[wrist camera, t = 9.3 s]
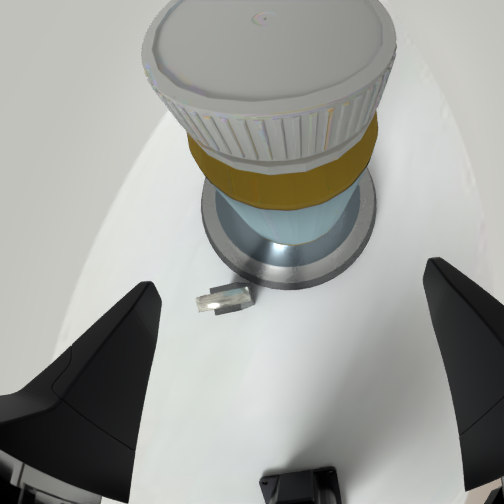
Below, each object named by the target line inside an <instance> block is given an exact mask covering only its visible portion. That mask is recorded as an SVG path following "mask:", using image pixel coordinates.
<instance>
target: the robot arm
mask: <svg viewBox="0 0 504 504" xmlns="http://www.w3.org/2000/svg"><path fill="white" fill-rule="evenodd" d="M423 285H424V289H425V293H426V298H427V302H428V306H429V311H430V315H431V320H432V324H433V328H434V331H435V334H436V338H437V341H438V344H439V348H440V351H441V355H442V358H443V362H444V366H445V370H446V374H447V378H448V382H449V386H450V391H451V395H452V400H453V405H454V410H455V415H456V420H457V426H458V432H459V440H460V447H461V454H462V463H463V473H464V486H465V492H466V491H469V490H472V489H474V488H477V487H480V486H482V485H485V484H487V483H490V482H492V481H494V480H497V479H499V478H501V481H502V486H500V487H498V488H496V489H494V490H492V491H491V493H490V495H489V496H488V498H487V500H486V501H485V503H484V504H504V305H503V304H501V303H500V302H499V301H498V300H497V299H495V298H494V297H493V296H492V295H490V294H489V293H488V292H487V291H485V290H484V289H483V288H481V287H480V286H479V285H478V284H476V283H475V282H474V281H472V280H471V279H470V278H468V277H467V276H466V275H464V274H463V273H462V272H460V271H459V270H457V269H456V268H455V267H453V266H452V265H451V264H449V263H448V262H446V261H445V260H444V259H442V258H441V257H433V258H429V259H428V261H427V264H426V268H425V272H424V276H423ZM161 306H162V301H161V297H160V295H159V293H158V291H157V289H156V287H155V285H154V283H153V282H151V281H143V282H140V283H139V284H137V285H136V286H135V287H134V288H133V289H132V290H131V291H130V292H128V293H127V294H126V295H125V296H124V297H123V298H122V299H121V300H119V301H118V302H117V303H116V304H115V305H114V306H113V307H112V308H111V309H110V310H108V311H107V312H106V313H105V314H104V315H103V316H102V317H101V318H100V319H99V320H97V321H96V322H95V323H94V324H93V325H92V326H91V327H90V328H89V329H88V330H87V331H86V332H85V333H84V334H82V335H81V336H80V337H79V338H78V339H77V340H76V341H75V342H74V343H73V344H72V346H70V347H69V348H68V349H67V350H66V351H65V352H64V353H62V354H61V355H60V356H59V357H58V358H57V359H56V360H55V361H54V362H53V363H52V364H50V365H49V366H48V367H47V368H46V369H45V370H44V371H42V372H41V373H40V374H39V375H38V376H36V377H35V378H34V379H33V380H32V381H31V382H30V383H28V384H27V385H26V386H25V387H24V388H22V389H21V390H19V391H18V392H15V393H13V394H9V395H2V396H0V504H100V503H101V499H102V496H103V497H106V498H109V499H113V500H116V501H119V502H123V503H127V504H128V502H129V496H130V488H131V480H132V473H133V466H134V459H135V451H136V445H137V439H138V433H139V427H140V422H141V416H142V411H143V405H144V400H145V395H146V390H147V385H148V381H149V376H150V371H151V367H152V362H153V358H154V353H155V349H156V344H157V337H158V329H159V321H160V314H161ZM329 471H333V472H332V473H328V472H329ZM263 481H267V483H265V482H263ZM259 484H260V487H261V490H262V493H263V496H264V499H265V503H266V504H342V503H341V496H340V490H339V483H338V477H337V471H336V468H335V467H332V466H330V467H325V468H320V469H315V470H307V471H301V472H294V473H287V474H281V475H274V476H265V477H262V478H261V479H260V481H259Z"/></svg>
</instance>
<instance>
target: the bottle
mask: <svg viewBox="0 0 504 504" xmlns="http://www.w3.org/2000/svg"><path fill="white" fill-rule="evenodd" d="M396 49H397V45H396V33H395V28H394V25H393V22H392V19H391V17H390V15H389V14H388V12H387V10H386V9H385V8H384V6H383V5H382V4H381V3H380V2H379V1H378V0H171V1H170V2H169V3H168V4H167V5H166V6H165V7H164V8H163V9H162V10H161V11H160V12H159V13H158V15H157V16H156V17H155V19H154V20H153V21H152V23H151V25H150V26H149V28H148V30H147V32H146V35H145V38H144V41H143V45H142V63H143V67H144V70H145V74H146V76H147V77H148V82H149V84H150V85H151V86H152V88H153V90H154V91H155V92H156V94H157V95H158V96H159V97H160V99H161V100H162V101H163V102H164V104H165V105H166V106H167V108H168V109H169V110H170V112H171V113H172V114H173V115H174V117H175V118H176V119H177V121H178V122H179V123H180V124H181V126H183V128H184V129H185V130H186V131H187V137H188V143H189V148H190V151H191V154H192V156H193V157H194V159H195V161H196V163H197V164H198V166H199V168H200V169H201V171H202V172H203V173H204V175H205V177H206V178H207V179H208V180H209V181H210V182H211V184H212V185H213V186H214V187H215V188H216V189H217V190H218V191H219V193H220V194H221V195H222V196H223V197H224V198H225V199H226V200H227V202H228V203H229V204H230V205H231V206H232V207H233V208H234V210H235V211H236V212H237V213H238V214H239V215H240V216H241V217H242V219H243V220H244V221H245V222H246V223H247V224H248V225H249V227H250V228H252V229H253V230H254V231H255V232H256V233H258V234H259V235H260V236H261V237H263V238H264V239H266V240H269V241H271V242H274V243H276V244H280V245H291V246H296V245H302V244H306V243H310V242H313V241H315V240H317V239H318V238H320V237H322V236H323V235H325V234H326V233H327V232H328V231H329V230H330V229H331V228H332V227H333V226H334V224H335V223H336V222H337V221H338V219H339V218H340V216H341V214H342V212H343V211H344V209H345V207H346V205H347V203H348V201H349V199H350V198H351V196H352V194H353V192H354V190H355V188H356V186H357V184H358V183H359V181H360V179H361V177H362V175H363V173H364V171H365V169H366V167H367V165H368V163H369V161H370V158H371V155H372V153H373V149H374V146H375V143H376V139H377V136H378V122H377V112H376V109H377V107H378V105H379V102H380V100H381V97H382V94H383V91H384V89H385V86H386V83H387V80H388V77H389V75H390V72H391V69H392V66H393V63H394V60H395V57H396V53H395V52H396Z"/></svg>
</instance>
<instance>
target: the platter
mask: <svg viewBox="0 0 504 504" xmlns="http://www.w3.org/2000/svg"><path fill="white" fill-rule="evenodd" d="M202 208H203V216H204V220H205V223H206V227H207V229H208V231H209V234H210V236H211V238H212V240H213V241H214V243H215V245H216V246H217V247H218V249H219V250H220V251H221V252H222V254H223V255H224V256H225V257H226V258H227V259H228V260H229V261H230V262H232V263H233V264H234V265H236V266H237V267H238V268H240V269H241V270H243V271H245V272H247V273H249V274H251V275H253V276H256V277H258V278H261V279H265V280H269V281H273V282H283V283H294V282H302V281H308V280H312V279H315V278H318V277H321V276H323V275H325V274H327V273H329V272H331V271H333V270H334V269H336V268H337V267H339V266H341V265H342V264H343V263H344V262H345V261H347V260H348V259H349V258H350V257H351V256H352V255H353V254H354V252H355V251H356V250H357V249H358V248H359V246H360V244H361V243H362V241H363V240H364V238H365V236H366V234H367V232H368V229H369V227H370V223H371V220H372V216H373V209H374V192H373V185H372V181H371V177H370V174H369V171H368V169H367V167H366V169H365V171H364V173H363V175H362V177H361V179H360V181H359V183H358V184H357V186H356V188H355V190H354V192H353V194H352V196H351V198H350V199H349V201H348V203H347V205H346V207H345V209H344V211H343V212H342V214H341V216H340V218H339V219H338V221H337V222H336V223H335V224H334V226H333V227H332V228H331V229H330V230H329V231H328V232H327V233H326V234H325V235H323V236H322V237H320V238H318V239H317V240H315V241H313V242H310V243H306V244H302V245H296V246H291V245H280V244H276V243H274V242H271V241H269V240H266V239H264V238H263V237H261V236H260V235H259V234H258V233H256V232H255V231H254V230H253V229H252V228H250V227H249V225H248V224H247V223H246V222H245V221H244V220H243V219H242V217H241V216H240V215H239V214H238V213H237V212H236V211H235V210H234V208H233V207H232V206H231V205H230V204H229V203H228V202H227V200H226V199H225V198H224V197H223V196H222V195H221V194H220V193H219V191H218V190H217V189H216V188H215V187H214V186H213V185H212V184H211V182H210V181H209V180H208V179H207V178H205V182H204V186H203V193H202Z"/></svg>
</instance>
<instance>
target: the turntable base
mask: <svg viewBox="0 0 504 504" xmlns="http://www.w3.org/2000/svg"><path fill="white" fill-rule="evenodd" d="M367 169H368V168H367ZM368 171H369V170H368ZM369 174H370V173H369ZM370 177H371V175H370ZM371 181H372V178H371ZM372 185H373V192H374V209H373V216H372V220H371V223H370V227H369V229H368V232H367V234H366V236H365V238H364V240H363V241H362V243H361V244H360V246H359V248H358V249H357V250H356V251H355V252H354V254H353V255H352V256H351V257H350V258H349V259H348V260H347V261H345V262H344V263H343V264H342V265H341V266H339V267H337V268H336V269H334V270H333V271H331V272H329V273H327V274H325V275H323V276H321V277H318V278H315V279H312V280H308V281H302V282H294V283H283V282H273V281H269V280H265V279H261V278H258V277H256V276H253V275H251V274H249V273H247V272H245V271H243V270H241V269H240V268H238V267H237V266H236V265H234V264H233V263H232V262H230V261H229V260H228V259H227V258H226V257H225V256H224V255H223V254H222V252H221V251H220V250H219V249H218V247H217V246H216V245H215V243H214V241H213V240H212V238H211V236H210V234H209V231H208V229H207V227H206V223H205V220H204V216H203V208H202V199H201V212H202V220H203V225H204V228H205V232H206V234H207V237H208V239H209V242H210V244H211V245H212V247H213V249H214V250H215V252H216V253H217V255H218V256H219V257H220V258H221V260H222V261H223V262H224V263H225V264H226V265H227V266H228V267H229V268H230V269H231V270H233V271H234V272H235V273H237V274H238V275H240V276H241V277H243V278H245V279H247V280H248V281H250V282H253V283H255V284H258V285H261V286H264V287H268V288H272V289H280V290H299V289H305V288H310V287H314V286H317V285H320V284H323V283H325V282H327V281H329V280H331V279H333V278H335V277H336V276H338V275H339V274H341V273H342V272H344V271H345V270H346V269H347V268H348V267H349V266H351V265H352V264H353V263H354V261H355V260H356V259H357V258H358V257H359V256H360V254H361V253H362V251H363V250H364V248H365V246H366V245H367V243H368V241H369V238H370V236H371V234H372V230H373V227H374V224H375V217H376V194H375V188H374V184H373V181H372ZM202 193H203V192H202ZM210 293H211V294H209V295H204V296H200V297H197V298H196V302H197V307H198V311H199V312H203V311H208V310H213V309H214V311H215V315H220V314H225V313H230V312H235V311H239V310H243V309H245V308H248V307H250V306H253V305H255V302H254V298H253V294H252V289H251V285H250V283H232V284H228V285H223V286H219V287H215V288H210Z"/></svg>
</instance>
